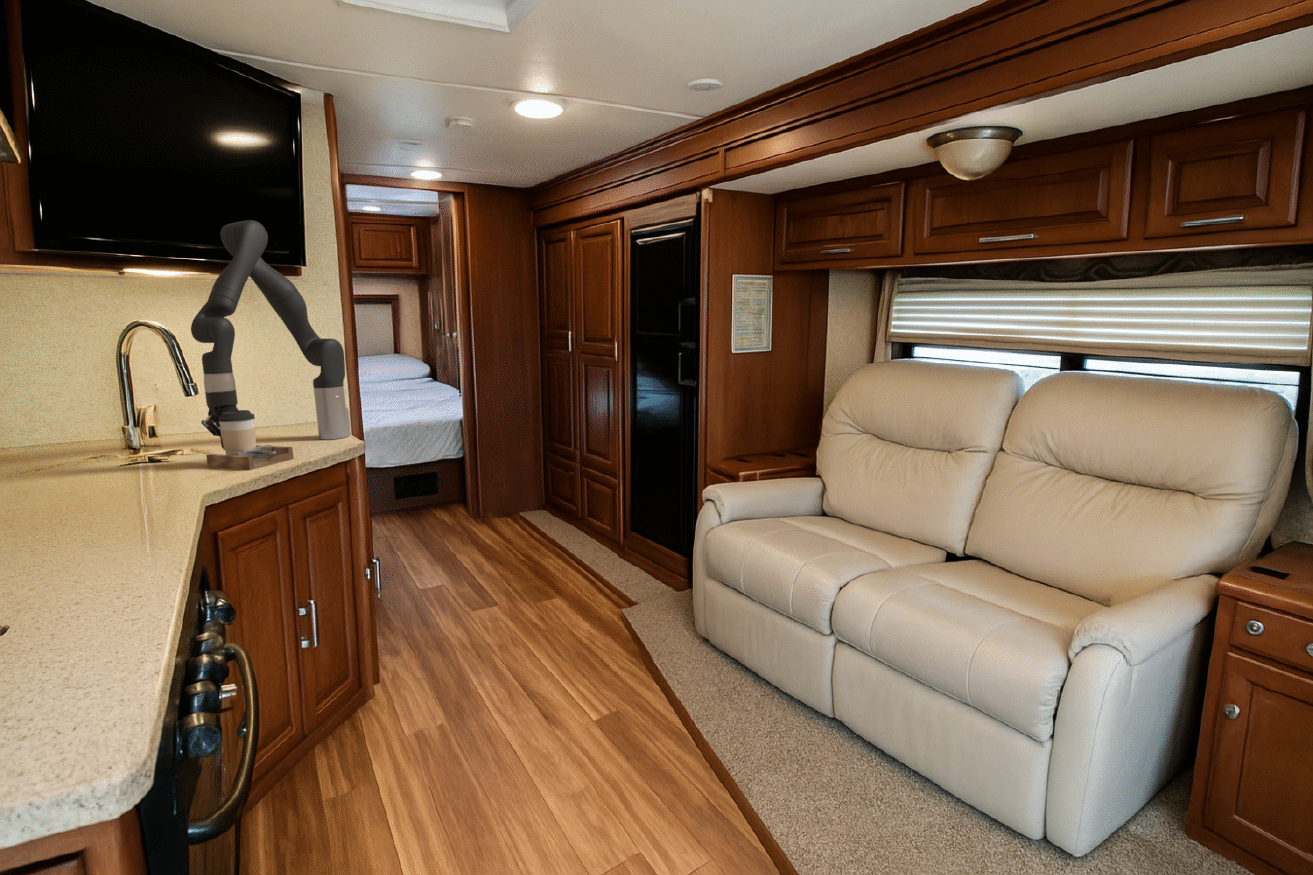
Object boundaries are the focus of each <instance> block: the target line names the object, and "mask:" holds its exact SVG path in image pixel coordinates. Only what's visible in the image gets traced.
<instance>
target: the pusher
mask: <svg viewBox="0 0 1313 875" xmlns="http://www.w3.org/2000/svg"><path fill="white" fill-rule="evenodd" d="M271 446H272V444H265V445H262V446H260V447H255V448H251V449H246V450H242V451H237V452H235V455H240V456H253V460H254V461H256V460H260V459H264V458H268V457H272V456H273V455H276V454H277V452H276V451H272V447H271Z"/></svg>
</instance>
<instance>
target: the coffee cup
mask: <svg viewBox="0 0 1313 875" xmlns="http://www.w3.org/2000/svg"><path fill="white" fill-rule="evenodd" d="M218 419H219V420H218V421H219V424H220V428H221V429H220V432H221V436H222V441H223V446H224V449H223V451H224V452H225V455H235V452H237V451H242V450H246V449H251V448H255V447H256V445H257V442H256V441H257V439H256V438H257V436H256V425H255V419H256V417H255V414H254V413H252V412H251V410H248V409H247V410H246V409H238V410H236V411H227V412H223V413H222V414H221V416H219V417H218Z"/></svg>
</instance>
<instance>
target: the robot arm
mask: <svg viewBox="0 0 1313 875" xmlns="http://www.w3.org/2000/svg"><path fill="white" fill-rule="evenodd" d="M220 239H221V241H222V244H223V246H224V248H225V249H226V250H227V252H229V254H230V256H231V257H233V258H232V259H231V261H230V262H229V263H228V265H227V266H225V268H224V269H223V271H222V272H220V274H219V275H218V277H217V278H216V280H215V282H214V283H213V285H212V288H211V290H210V293H209V296H208V299H207V301H206V302H205V303H204V305H203V306H201V308H200V310H199V311H198V313H197V314H196V315H195V316H194V318H193V320H192V322H191V325H190V334H191V336H192V337H193V339H194V340H195V341H197V342H198V343H203V344H213V347H212V349H211V351H207V352H204V353H203V354H201V363H202V370H203V371H202V373H203V388H204V394H205V402H206V407H207V408H208V412H207V415H208V416H207V417H206V418H205V419H202V420H201V422H200V423H201V425H202V426H203V427H205V428H206V430H207V431H208V432H210V433H211V435H212V436H214V437H219V439H220V442H221V443H220V444H221V446H220V447H221V448H222V449H223V450H224V446H223V441H222V436H221V432H220V429H221V428H220V424H219V421H218V420H219V419H218V417H219V416H221V414H222V413H223V412H227V411H236V410H239V409H238V404H239V403H238V402H239V401H238V394H237V389H236V380H235V376H234V372H233V371H234V370H233V364H232V356H233V349H234V344H235V343H234V342H235V337H236V331H235V328H234V325H233V323H232V322H231V320H229V319H228V318H226V317H230V316H232V315H234V313H235V312H236V310H237V307H238V305H239V302H240V299H241V295H242V292H243V290H244V287H245V285H246V283H247V281H248V279H249V277H250V280H252V281H253V283H254V284H255V285H256V287H257V288H258V289H259V291H260V292H261V293H262V295H263V296H264V298H265V299H266V301H267V302H268V304H269V305H270V307H271V308H272V309H273V311H274V312H275V313H276V314H277V316H278V318H280V320H281V322H282V323H283V324H284V326H285V327H286V329H287V330H288V331H289V333H290V334H291V336H292V337H293V339H294V341H295V342H296V344H297V345H298V347H299V350H300V351H301V353H302V354H303V357H304V358H305V359H306V361H307V362H308V363H310V364H311V365H312V366H316V367H320V373H319V375H318V376H316V377H315V378H314V379H313V380H312V385H313V396H314V404H315V413H316V423H317V431H318V438H319V440H338V439H344V438H347V437H349V436H351V435H352V434H351V428H350V427H351V425H350V415H349V408H348V407H347V406H346V397H345V396H346V395H345V386H344V381H345V377H346V367H345V366H346V364H345V351H344V348H343V346H342V344H341V342H340V341H339V340H338V339H335V338H322V337H320V336H319V335H318V334H317V333H316V331H315V330H314V328H313V327H312V326H311V324H310V321H309V317H308V309H307V304H306V301H305V299H304V298H303V296H302V294H301V293H300V292H299V290H298V288H297V287H296V286H295V284H294V283H293V282H292V281H291V280H290V279H288V277H286V276H284V275H283V274H282V273H281V272H279V271H278V270H276V269H274V268H273V267H272V266H270V265H269V264H268V263H267V262H265V260H264V259H263V258H262V255H263V253H264V252H265V249H266V247H267V245H268V240H269V236H268V232H267V230H266V228H265V227H264V225H263V224H261V223H260V222H259V221H256V220H251V219H247V220H241V221H236V222H231V223H228V224H227V223H226V224H225V225H224V226H223V227H222V228H221V230H220Z"/></svg>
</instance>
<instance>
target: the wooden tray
mask: <svg viewBox="0 0 1313 875" xmlns="http://www.w3.org/2000/svg"><path fill="white" fill-rule="evenodd" d="M260 446H263V445H260V444H258V445H257V444H256V447H260ZM271 447H272V451H276V452H277V454H276V455H273V456H272V457H268V458H264V459H260V460H256V461H254V460H253V456H240V455H226V454H219V453H218V454H216V453H209V454H206V455H205V457H206V462H207V468H210V469H212V468H213V469H225V470H226V469H227V470H228V469H229V470H246V471H251V470H254V469H259V468H264V467H267V466H271V465H274V464H278V463H283V462H286V461H290V460H293V459H294V450H293V446H283V445H282V446H280V445H279V446H277V445H271Z"/></svg>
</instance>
